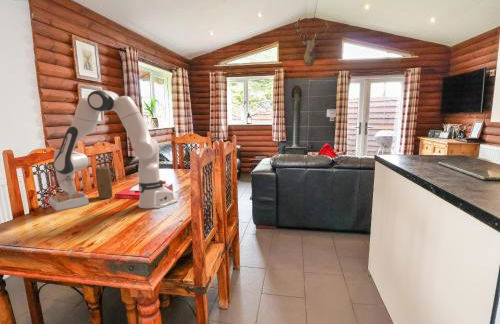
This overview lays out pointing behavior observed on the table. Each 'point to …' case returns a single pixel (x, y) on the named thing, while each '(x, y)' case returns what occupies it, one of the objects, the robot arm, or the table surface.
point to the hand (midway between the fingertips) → (68, 198)
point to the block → (104, 182)
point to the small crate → (65, 196)
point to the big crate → (69, 202)
